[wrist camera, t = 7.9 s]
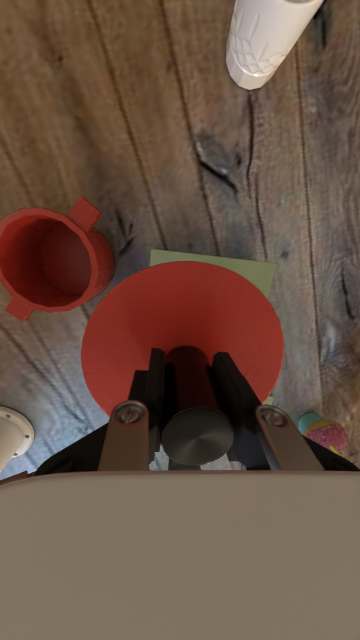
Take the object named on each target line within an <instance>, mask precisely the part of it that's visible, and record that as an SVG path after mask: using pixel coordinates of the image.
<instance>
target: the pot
mask: <svg viewBox="0 0 360 640" xmlns="http://www.w3.org/2000/svg"><path fill="white" fill-rule="evenodd" d="M101 214H102V213H101V212H100V211H99V210H97V209H96V208H95V207H94V206H93V205H92V204H91V203H89V202H88V201H87V200H86V199H85V198H84V197H82V196H80V197H79V199H78V200H77V202H76V203H75V205H74V206H73V208H72V209H71V211H70V212H69V214H68V215H67V216H65V215H62V214H59V213H56V212H54V211H51V210H48V209H45V208H24V209H19V210H17V211H15V212H14V213H12V214H10V215H8V216H7V217H5V218H3V220H1V222H0V281H1V283H2V284H3V285H4V286H5V288H6V289H7V290H8V291H9V293H10V294H11V295H12V296H14V297H13V299H12V300H11V302H10V303H9V305H8V306H7V308H6V309H5V311H7V312H8V313H10V314H11V315H13V316H14V317H16V318H18V319H19V320H21V321H22V322H23V321H25V320H28V318H29V317H30V315H31V314H32V313H33V311H34V310H35V309H38V310H41V311H45V312H49V313H54V312H66V311H70V310H72V309H74V308H76V307H78V306H79V305H81V304H83V303H85V302H87V301H88V300H90V299H92V298H93V297H95V296H97V295H98V294H100V293H102V292H103V291H104V290H105V289H106V288H107V287H108V285H109V284H110V282H111V281H112V278H113V275H114V270H115V260H114V255H113V252H112V249H111V247H110V245H109V243H108V242H107V240H106V239H105V238H104V236H103V235H102V234H101V233H100V232H98V231H97V230H96V229H95V228H93V226H94V224H95V223H96V221H97V220H98V218H99V217H100V216H101Z"/></svg>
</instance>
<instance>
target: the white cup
mask: <svg viewBox="0 0 360 640" xmlns="http://www.w3.org/2000/svg"><path fill="white" fill-rule="evenodd" d="M323 1H324V0H236V3H235V7H234V11H233V16H232V22H231V27H230V31H229V35H228V39H227V44H226V64H227V67H228V71H229V74H230V76H231V78H232V79H233V80H234V81H235V82H236V84H237V85H238V86H240V87H242V88H245V89H248V90H252V89H256V88H260V87H262V86H263V85H264V84H265V83H266V82H267V81H268V80H269V79H270V78H271V77H272V76H273V74H274V73H275V71H276V69H277V68H278V66H279V65H280V64H281V62H282V61H283V60H284V59H285V57H286V56H287V55H288V53H289V51H290V50H291V48H292V47H293V46H294V44H295V43H296V41H297V40H298V39H299V37H300V36H301V34H302V33H303V31H304V30H305V28H306V27H307V25H308V24H309V22H310V20H311V19H312V17H313V16H314V14H315V13H316V11H317V10H318V8H319V7H320V5H321V4H322V2H323Z"/></svg>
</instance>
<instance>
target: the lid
mask: <svg viewBox="0 0 360 640" xmlns="http://www.w3.org/2000/svg"><path fill="white" fill-rule="evenodd" d="M152 348H161V351H165V379H164V405H163V416H162V421H161V425H160V443H161V447H162V449H163V451H164V452H165V454H166V455H167V456H168V457H169V458H171V459H172V460H174V461H176V462H178V463H181V464H185V465H203V464H207V463H210V462H213V461H215V460H217V459H219V458H220V457H222V456H223V455H224V454H225V453H227V452H228V450H229V449H230V448H231V446H232V444H233V442H234V438H235V428H234V424H233V422H232V419H231V417H230V414H229V412H228V409H227V407H226V404H225V402H224V399H223V396H222V394H221V391H220V389H219V386H218V384H217V381H216V379H215V376H214V374H213V371H212V369H211V368H212V362H213V356H214V354H217V352H228V353H229V355H230V356H231V358H232V360H233V361H234V363H235V364H236V366H237V368H238V369H239V371H240V372H241V374H242V375H243V376H244V377H245V378H246V380H247V381H248V383H249V384H250V386H251V388H252V389H253V391H254V392H255V394H256V395H257V397H258V399H259V400H260V402H261V403H262V404H263V403H264V402H265V400H266V399H267V398H268V396H269V395H270V393H271V391H272V390H273V388H274V386H275V384H276V382H277V380H278V377H279V374H280V371H281V368H282V362H283V356H284V341H283V333H282V329H281V326H280V322H279V319H278V317H277V315H276V312H275V310H274V308H273V307H272V305H271V304H270V302H269V301H268V299H267V298H266V297H265V296H264V294H263V293H262V292H261V291H260V290H259V289H258V288H257V287H256V286H255V285H253V284H252V283H251V282H250V281H249V280H247V279H246V278H244V277H242V276H241V275H239V274H237V273H236V272H233V271H231V270H229V269H226V268H224V267H221V266H218V265H214V264H210V263H206V262H198V261H173V262H167V263H161V264H158V265H154V266H151V267H148V268H145V269H143V270H141V271H139V272H137V273H134V274H133V275H131V276H130V277H128V278H126V279H125V280H123V281H122V282H120V283H119V284H118V285H116V286H115V287H114V288H113V289H112V290H111V291H109V292H108V293H107V295H106V296H105V297H104V298H103V299H102V300H101V301H100V303H99V304H98V306H97V307H96V309H95V310H94V312H93V313H92V315H91V317H90V319H89V322H88V324H87V326H86V329H85V333H84V336H83V340H82V349H81V363H82V370H83V375H84V379H85V381H86V384H87V387H88V389H89V391H90V393H91V395H92V397H93V399H94V400H95V401H96V403H97V404H98V406H99V407H100V408H101V409H102V410H103V411H104V412H105V413H106V415H107V416H109V417H110V415H111V412H112V410H113V408H114V407H115V406H116V405H117V404H119V403H121V402H123V401H126V400H127V399H128V396H129V392H130V388H131V384H132V381H133V377H134V373H135V370H148V369H149V362H150V356H151V349H152Z"/></svg>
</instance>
